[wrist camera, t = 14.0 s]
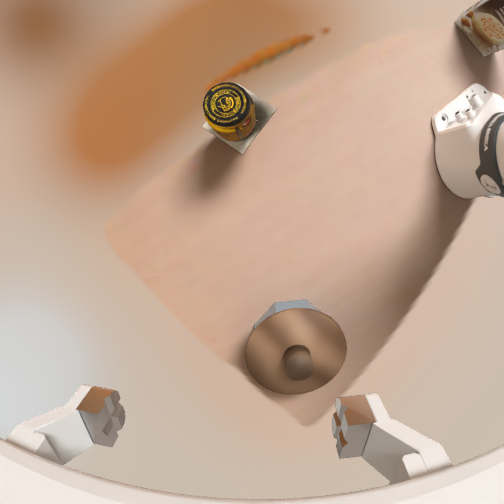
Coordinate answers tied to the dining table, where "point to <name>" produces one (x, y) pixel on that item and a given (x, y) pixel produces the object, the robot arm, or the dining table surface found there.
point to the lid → (295, 351)
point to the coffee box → (484, 25)
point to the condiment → (235, 114)
